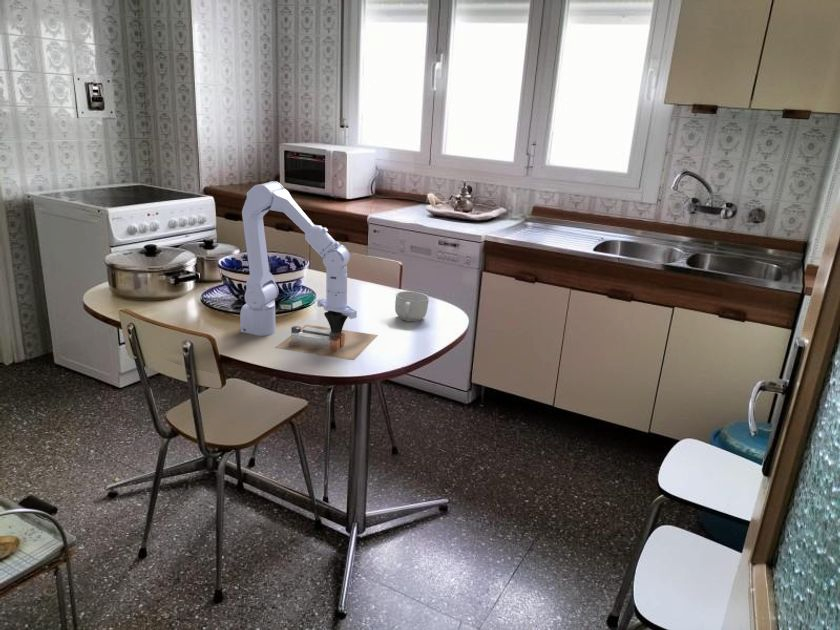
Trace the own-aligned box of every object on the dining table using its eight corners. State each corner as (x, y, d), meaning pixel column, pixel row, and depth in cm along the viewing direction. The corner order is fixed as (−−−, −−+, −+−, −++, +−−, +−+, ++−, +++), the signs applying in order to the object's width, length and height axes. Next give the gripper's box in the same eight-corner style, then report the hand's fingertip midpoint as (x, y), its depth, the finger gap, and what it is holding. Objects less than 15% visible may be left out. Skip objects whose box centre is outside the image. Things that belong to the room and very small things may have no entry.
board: (274, 351, 168) (274, 347, 168) (306, 328, 187) (306, 324, 186) (354, 364, 163) (354, 360, 163) (377, 338, 182) (378, 335, 181)
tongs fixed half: (286, 343, 171) (286, 330, 170) (294, 338, 175) (293, 325, 174) (336, 351, 168) (336, 338, 167) (342, 345, 172) (342, 332, 171)
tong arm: (302, 339, 174) (302, 329, 173) (306, 336, 176) (306, 326, 175) (340, 346, 171) (341, 336, 170) (344, 343, 173) (344, 333, 172)
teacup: (402, 311, 207) (403, 288, 204) (432, 316, 203) (434, 293, 201) (385, 323, 195) (386, 299, 192) (416, 329, 191) (418, 305, 188)
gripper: (308, 286, 172) (309, 332, 176) (343, 299, 163) (342, 346, 167) (328, 282, 177) (328, 326, 181) (362, 294, 168) (361, 340, 172)
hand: (336, 335), depth 175 cm, fingers closed
